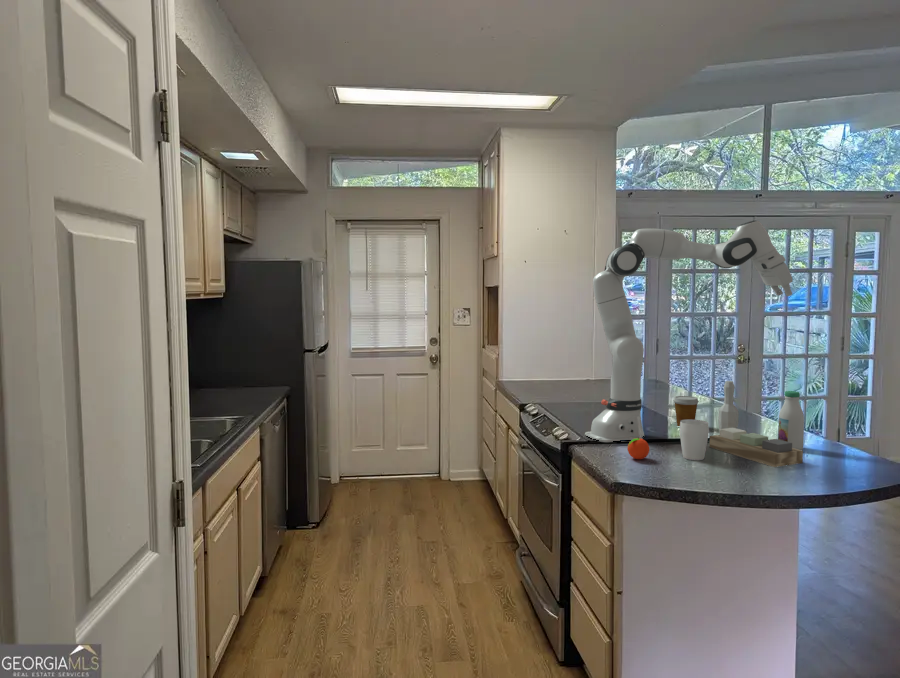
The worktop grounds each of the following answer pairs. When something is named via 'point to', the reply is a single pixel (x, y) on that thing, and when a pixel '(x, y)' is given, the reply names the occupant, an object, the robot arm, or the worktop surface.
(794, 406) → the milk bottle
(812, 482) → the worktop surface
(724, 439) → the oak key console
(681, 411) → the disposable coffee cup
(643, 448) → the clementine
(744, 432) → the off-white key
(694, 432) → the cup
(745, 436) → the sage green key
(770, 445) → the charcoal key
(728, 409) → the faceted bottle
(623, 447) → the worktop surface
